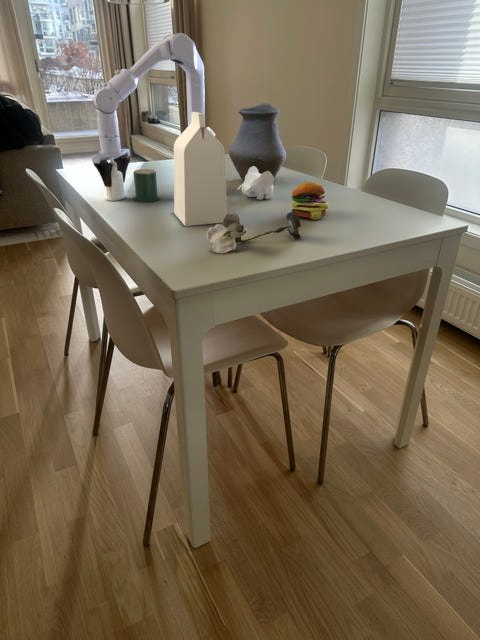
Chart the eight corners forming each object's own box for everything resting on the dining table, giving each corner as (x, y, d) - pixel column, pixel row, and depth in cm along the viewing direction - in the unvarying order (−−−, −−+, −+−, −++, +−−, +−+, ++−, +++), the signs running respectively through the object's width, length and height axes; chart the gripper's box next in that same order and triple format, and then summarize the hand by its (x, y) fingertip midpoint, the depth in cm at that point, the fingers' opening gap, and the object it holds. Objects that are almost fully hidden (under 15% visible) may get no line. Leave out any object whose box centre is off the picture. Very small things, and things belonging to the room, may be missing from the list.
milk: (174, 213, 126) (168, 111, 114) (213, 210, 130) (212, 110, 117) (185, 226, 116) (180, 115, 104) (227, 222, 120) (227, 114, 107)
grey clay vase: (219, 184, 158) (219, 105, 146) (239, 172, 176) (240, 101, 164) (277, 189, 153) (281, 108, 141) (291, 176, 171) (296, 103, 159)
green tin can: (161, 198, 140) (160, 170, 136) (149, 202, 135) (147, 174, 131) (144, 195, 143) (142, 168, 139) (131, 200, 138) (128, 171, 134)
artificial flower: (306, 248, 107) (310, 212, 100) (214, 269, 102) (212, 232, 95) (291, 228, 113) (294, 192, 106) (204, 246, 108) (201, 210, 101)
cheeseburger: (299, 221, 121) (298, 182, 118) (285, 219, 131) (283, 183, 128) (333, 218, 123) (333, 180, 121) (317, 217, 133) (316, 181, 131)
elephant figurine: (232, 196, 144) (233, 167, 139) (265, 192, 149) (266, 164, 144) (247, 203, 136) (248, 173, 132) (281, 199, 142) (282, 170, 137)
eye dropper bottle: (127, 199, 138) (123, 158, 132) (108, 201, 136) (103, 159, 130) (123, 196, 141) (119, 156, 135) (105, 198, 139) (100, 157, 133)
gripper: (114, 132, 137) (119, 178, 144) (80, 138, 125) (87, 187, 132) (133, 134, 134) (137, 180, 141) (100, 140, 123) (107, 190, 129)
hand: (114, 184), depth 136 cm, fingers closed on eye dropper bottle, 5 cm apart
